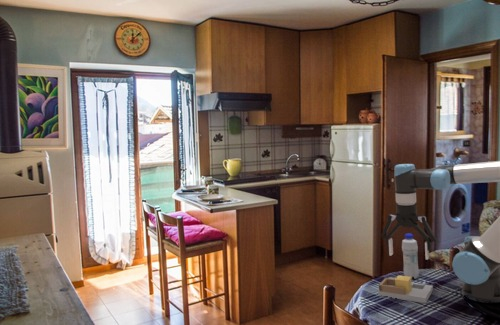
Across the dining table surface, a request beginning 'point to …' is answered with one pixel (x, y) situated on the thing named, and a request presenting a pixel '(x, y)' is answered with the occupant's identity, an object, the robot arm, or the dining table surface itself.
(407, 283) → the block
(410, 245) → the bottle
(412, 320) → the dining table surface
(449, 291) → the dining table surface
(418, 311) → the dining table surface
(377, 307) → the dining table surface
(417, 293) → the cubby deck
